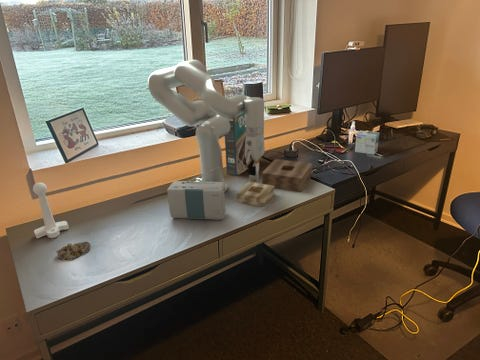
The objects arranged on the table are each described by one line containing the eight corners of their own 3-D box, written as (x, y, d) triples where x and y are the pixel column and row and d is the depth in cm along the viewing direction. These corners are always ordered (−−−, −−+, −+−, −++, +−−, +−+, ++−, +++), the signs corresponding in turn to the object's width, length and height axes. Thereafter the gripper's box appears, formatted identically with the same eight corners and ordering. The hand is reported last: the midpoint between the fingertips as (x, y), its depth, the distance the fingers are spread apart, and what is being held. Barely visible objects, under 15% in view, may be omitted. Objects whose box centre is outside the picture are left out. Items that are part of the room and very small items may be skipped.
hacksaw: (314, 174, 179) (314, 172, 178) (300, 168, 187) (300, 165, 186) (350, 163, 190) (350, 161, 189) (335, 157, 198) (335, 155, 197)
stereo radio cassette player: (170, 220, 143) (163, 172, 135) (176, 210, 151) (170, 164, 143) (223, 222, 140) (220, 173, 132) (227, 211, 148) (224, 165, 140)
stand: (237, 201, 155) (236, 193, 154) (248, 190, 165) (248, 181, 164) (264, 206, 151) (264, 197, 149) (274, 194, 160) (274, 185, 159)
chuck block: (262, 185, 169) (261, 172, 166) (275, 171, 183) (275, 159, 181) (300, 192, 161) (301, 178, 159) (311, 176, 176) (312, 163, 174)
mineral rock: (58, 259, 119) (53, 242, 124) (60, 268, 122) (55, 251, 127) (93, 249, 124) (87, 233, 129) (94, 258, 127) (88, 242, 132)
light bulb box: (377, 151, 204) (379, 132, 200) (374, 155, 199) (376, 135, 195) (357, 148, 209) (359, 129, 205) (354, 152, 204) (356, 133, 200)
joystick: (66, 224, 143) (54, 176, 135) (71, 232, 137) (58, 183, 129) (34, 234, 137) (19, 185, 129) (38, 243, 132) (22, 192, 124)
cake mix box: (237, 175, 180) (234, 114, 168) (226, 173, 183) (223, 113, 171) (259, 161, 197) (258, 104, 185) (249, 159, 200) (247, 103, 188)
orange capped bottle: (247, 180, 154) (247, 155, 149) (251, 177, 157) (251, 152, 153) (256, 182, 152) (256, 157, 148) (260, 178, 156) (260, 153, 151)
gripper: (255, 137, 137) (254, 182, 145) (270, 125, 151) (269, 166, 159) (236, 134, 140) (237, 179, 148) (253, 123, 154) (253, 164, 162)
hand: (254, 172), depth 153 cm, fingers closed on orange capped bottle, 4 cm apart
